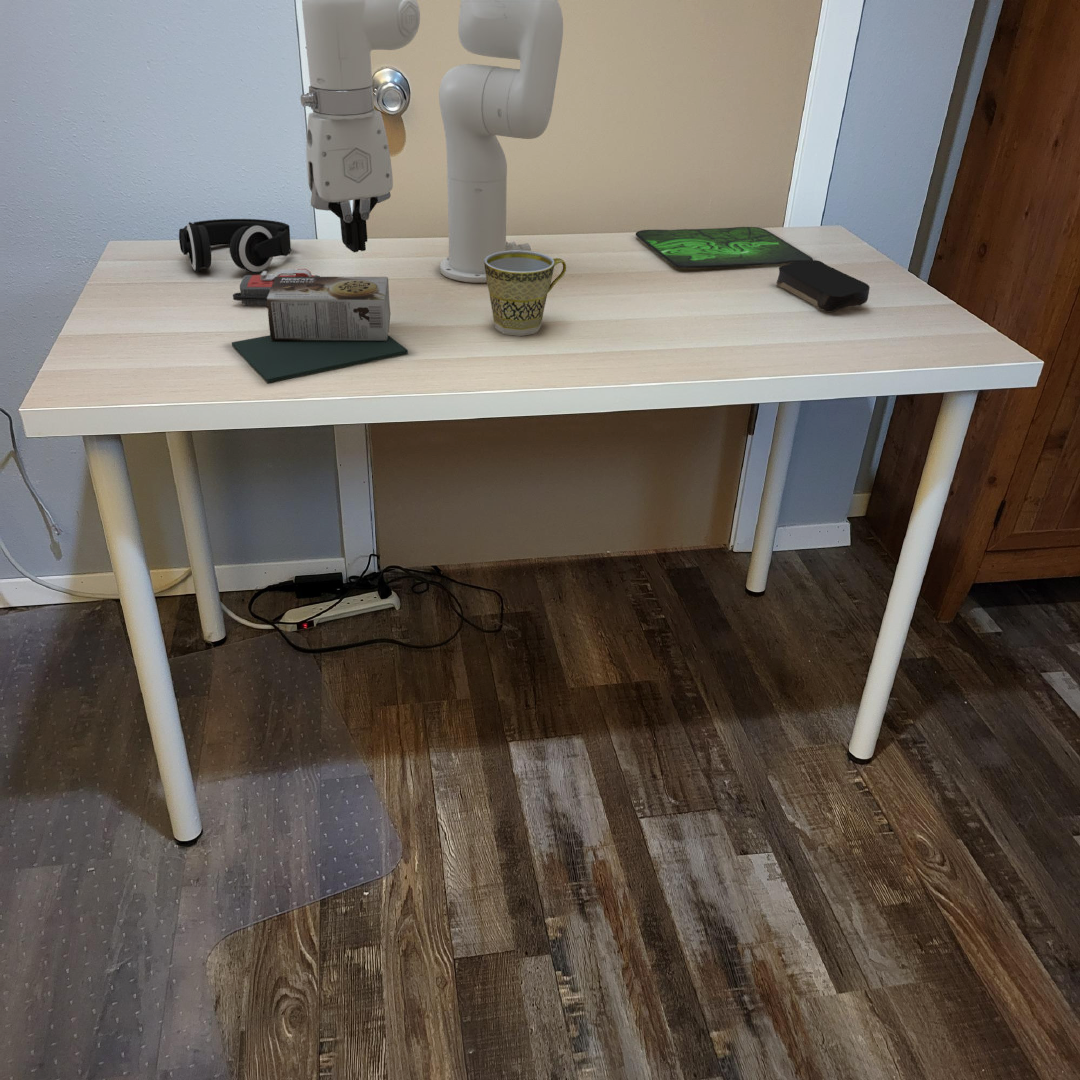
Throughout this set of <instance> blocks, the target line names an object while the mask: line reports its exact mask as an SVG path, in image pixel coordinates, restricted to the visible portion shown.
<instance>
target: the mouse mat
mask: <svg viewBox="0 0 1080 1080" xmlns="http://www.w3.org/2000/svg"><path fill="white" fill-rule="evenodd" d="M635 236H636V238H638V239H639V240H640V241H641V242H643V243H644V244H645V245H647V246H648V247H649V248H650V249H651V250H653V251H654V252H655V253H657V254H658V255H660V256H661V257H662V258H663V259H665V260H666V261H668V263H670V264H671V265H672V266H674V267H676V268H681V269H700V268H701V269H706V268H710V269H711V268H728V267H747V266H748V267H750V266H765V265H766V266H768V265H769V266H771V265H782V264H790V263H793V262H797V261H805V260H814V259H813V258H812V257H811V255H808V254H807V253H805V252H803V251H801V250H800V249H799V248H797V247H795V246H794V245H792V244H790V243H789V242H787V241H785V240H783V239H782V238H780V237H779V236H777V235H775V234H773V232H771V231H769V230H767V229H765V228H762V227H758V226H757V227H756V226H735V227H724V228H723V227H721V228H719V227H718V228H716V227H715V228H693V229H692V228H691V229H690V228H689V229H687V228H682V229H641V230H638V231H636V232H635Z"/></svg>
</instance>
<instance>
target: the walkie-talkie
mask: <svg viewBox="0 0 1080 1080" xmlns="http://www.w3.org/2000/svg"><path fill="white" fill-rule="evenodd" d="M267 273H268V271H267V270H264V271H262V272H261V273H260V274H244V276H243V277H242V280H241V282H240V283H239V289H240V290H239V292H235V293H233V294H232V300H234V301H239V302H241V304H242V305H245V306H249V307H254V306H255V307H263V306H264V307H268V306H267V296H268V294H269V292H270V289H271V287H272V284H273V282H274V280H275V277H321V276H320V275H317V274H316V275H313V274H312V272H311V271H310V270H309V269H306V268H297V269H296V268H282V269H280V270H278V271H277V272H276V273H274V274H267Z"/></svg>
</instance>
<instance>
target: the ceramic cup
mask: <svg viewBox="0 0 1080 1080" xmlns="http://www.w3.org/2000/svg"><path fill="white" fill-rule="evenodd" d="M484 264H485V273H486V279H487V282H486V285H487V289H488V293H489V300H490V301H489V302H490V305H491V312H492V317H493V318H492V319H493V324H494V329H495V330H497V331H498V332H500V333H501V334H503V335H508V336H515V337H516V336H517V337H524V336H529V335H534V334H537V333H538V331H539V330H540V328H541V327H542V323H543V318H544V313H545V312H544V311H545V307H546V302H547V299H548V294H549V293H550V292H551V291H552V289H553V288H554V286H555V285H556V284H557V283H558V282H559V281H560V280H561V279H562V278H563V277H564V276H565V274H566V271H567V263H566V261H565V260H564V259H562V258H557V257H555V258H552V257H551V256H549V255H547V254H544V253H541V252H537V251H533V250H531V251H523V250H510V251H501V252H496V253H493V254H491V255H488V256H487V257H486V258H485V260H484ZM559 264H562V269H561V272H560V274H558V276H556V277H555V278H554V280H553V281H552V279H553V276H554V270H555V266H556V265H559Z"/></svg>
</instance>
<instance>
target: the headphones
mask: <svg viewBox="0 0 1080 1080" xmlns="http://www.w3.org/2000/svg"><path fill="white" fill-rule="evenodd" d="M290 229H291V228H290V224H288V223H286V222H282V221H276V220H269V219H258V218H257V219H256V218H222V219H221V218H219V219H209V220H208V219H207V220H199V221H193V222H190V221H189V222H188V223H187V225H185V226H184V227H183V228H179V230H178V241H179V247H180V251H181V253H182V254H183V255H184V256H187V255H189V256H188V257H189V262H190V265H191V267H192V268H193V271H194V272H195V273H198V272H200V271H201V270H202V269H206V270H207V269H209V268H210V267H211V266H212V250H211V249H212V248H211V247H213V246H222V245H229V255H230V258H231V260H232V261H233V263H234V265H236V266H237V267H238V268H240V269H241V270H243V271H244V270H245V271H246V272H248V273H251V274H261V273H262V272H263V271H266V269H267V268H268V267H269V266H270V265H271V263H272V262H273V259H274V258H276V257H281V256H283V257H287V256H288V255H289V254H290V253H291V251H292V248H291V247H292V246H291V245H292V244H291V232H290V231H291V230H290Z"/></svg>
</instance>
